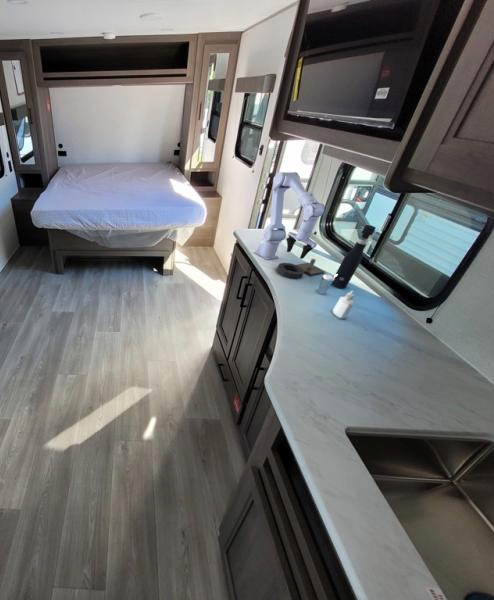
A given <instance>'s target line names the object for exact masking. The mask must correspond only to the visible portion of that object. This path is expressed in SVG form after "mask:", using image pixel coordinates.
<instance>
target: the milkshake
mask: <svg viewBox="0 0 494 600" xmlns="http://www.w3.org/2000/svg"><path fill="white" fill-rule="evenodd" d="M337 275H338V274H337ZM337 275H336V276H337ZM336 276H335V275H334V276H333V275H331V274H324V275H323V274H322V277H321V281H320V283H319V285H318V288H317V290H316V292H317V293H318V294H320V295H325V294H326V293H327V292H328V290H329V289H330V286H332V285H331V284H332V282H333V281H334V278H335V277H336Z"/></svg>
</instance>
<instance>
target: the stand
mask: <svg viewBox="0 0 494 600" xmlns="http://www.w3.org/2000/svg"><path fill="white" fill-rule="evenodd" d="M316 261H317V260H316V259H315V258H311V259H310V262H304V263H300V264H296V265H297V266H299V267H301V268H302V269H303V270H304V273H303V274H305V275H307V276H309V277H313V276H317V275H323V274H324V273H325V270H323V269H321V268H319V267H318V266H316V265H315V263H316Z"/></svg>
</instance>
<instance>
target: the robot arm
mask: <svg viewBox="0 0 494 600" xmlns="http://www.w3.org/2000/svg"><path fill="white" fill-rule="evenodd" d="M290 189H292V190H293V192H295V194H296V195H297V196H298V197H297V201H298V202H299V204H300V206H301V207H302V208H303V216H302V220H301V223H300V226H299V228H298V231H297V233H295V232H292V231H289V232H288V233H287V232H286V231H287V230H286V226H285V225H284V224H283V211H284V210H283V209H284V198H285V192H287V190H290ZM325 212H326V207H325V204H324V203H322V202H321V203H320V202H319V201H318V200H317V199H316V198H315V196H314V194H313V192H311V191H307V190H306V189H305V186H304V184H303V183H302V182H301V176H300V175H299V173H298V172H297V171H292V172H291V171H288V172H285V171H283V172H282V171H279V172H277V173H276V174H275V175H274V177H273V181H272V193H271V210H270V223H269V224H268V225H267V226H266V227H265V230H264V233H263V238H262V239H261V240H259V243H258V246H257V249H256V251H255V252H254V253H255V254H257V255H259V256H260V257H262V258H263V259H265V260H267V261H268V260H272V259H273V260H274V259H278V258H279V257H278V256H277V255H276V253H277V250H278V248H279V246H280V244H281V243H282V241H284V240H285V239H286V244H287V245H286V246H287V247H286V249H287V250H286V252H287V253H290V252H292V250H293V247H294V245H295V244H296V242H301V243H303V244H305V245H303V246H302V251H301V254H300V256H299V259H301V260H302V259H304V258H305V257H306V256H307V255H308V254H309V252H311V251H312V250H313V249H314V248H316V247H317V245H318V243H317V242H315V241H314V240H312V239H311V236H312V234H313V231H314V230H315V227H316V225H317V222H318V220H319V219H320V217H322V216H323V215H324V214H325Z"/></svg>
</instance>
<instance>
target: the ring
mask: <svg viewBox="0 0 494 600" xmlns="http://www.w3.org/2000/svg"><path fill="white" fill-rule="evenodd" d="M297 265H298V264H294V263H291V262H280V263H279V264H278V265H277V267H276V270H275V271H276V272H277V274H279V275H280V276H282V277H283V278H287V279H289V280H298V279H299V280H300V279H302V277H303V275H304V274H305V273H304V270H303V269H302V268H301V267H299V266H297Z"/></svg>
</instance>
